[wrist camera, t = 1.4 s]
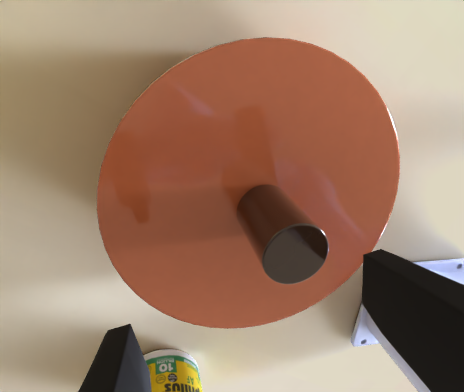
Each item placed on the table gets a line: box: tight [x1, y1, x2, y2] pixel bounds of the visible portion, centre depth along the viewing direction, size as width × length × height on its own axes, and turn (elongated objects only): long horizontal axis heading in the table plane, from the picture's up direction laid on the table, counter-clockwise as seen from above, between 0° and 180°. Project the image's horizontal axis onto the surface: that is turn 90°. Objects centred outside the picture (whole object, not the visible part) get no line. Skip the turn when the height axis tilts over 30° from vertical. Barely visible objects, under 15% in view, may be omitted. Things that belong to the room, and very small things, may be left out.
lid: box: [97, 37, 400, 329], centre depth 13 cm, size 13×13×5 cm
